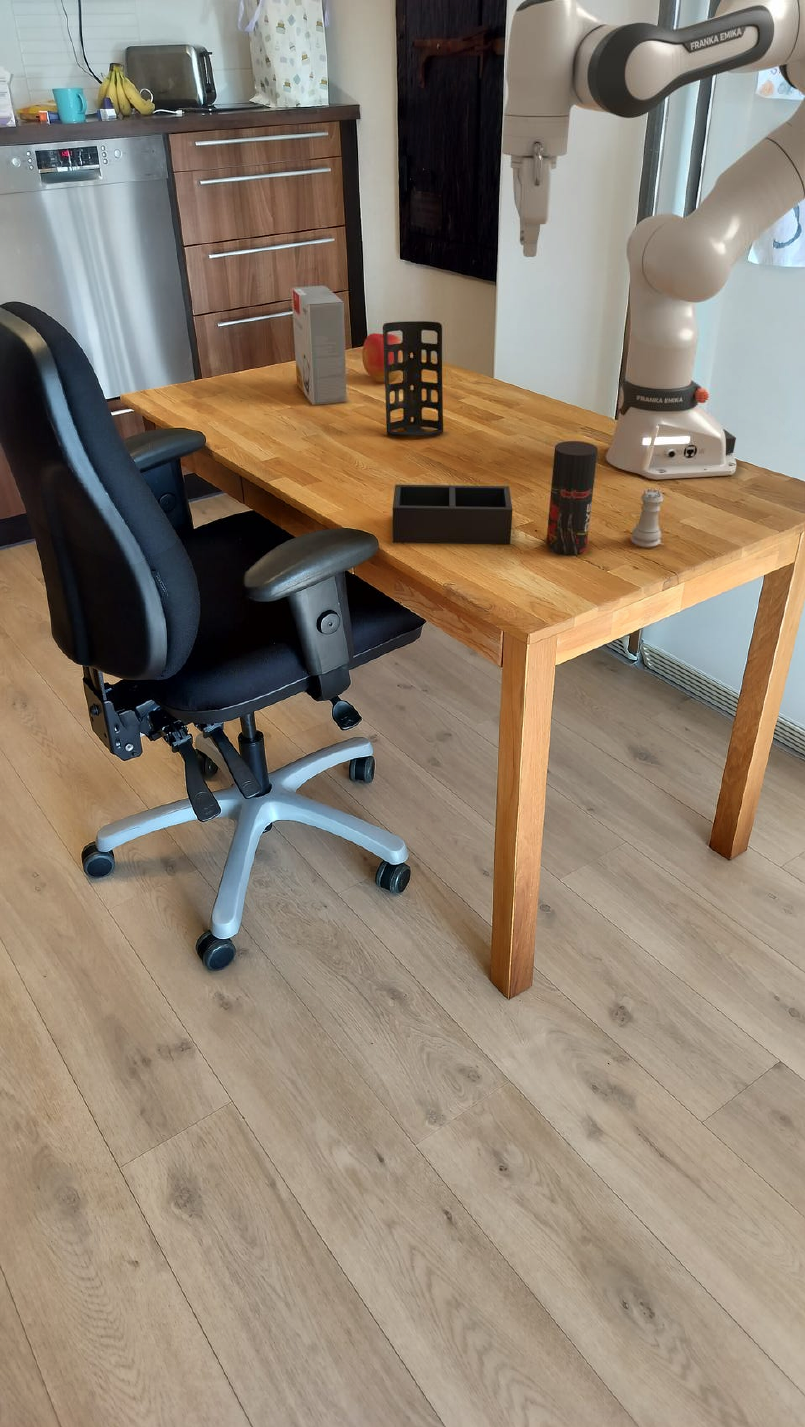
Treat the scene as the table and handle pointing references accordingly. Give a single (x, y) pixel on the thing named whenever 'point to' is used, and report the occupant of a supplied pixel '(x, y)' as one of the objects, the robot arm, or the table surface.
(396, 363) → the holder
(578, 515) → the deodorant
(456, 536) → the box
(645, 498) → the rook chess piece
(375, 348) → the apple
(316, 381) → the hard drive box
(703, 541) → the table surface
